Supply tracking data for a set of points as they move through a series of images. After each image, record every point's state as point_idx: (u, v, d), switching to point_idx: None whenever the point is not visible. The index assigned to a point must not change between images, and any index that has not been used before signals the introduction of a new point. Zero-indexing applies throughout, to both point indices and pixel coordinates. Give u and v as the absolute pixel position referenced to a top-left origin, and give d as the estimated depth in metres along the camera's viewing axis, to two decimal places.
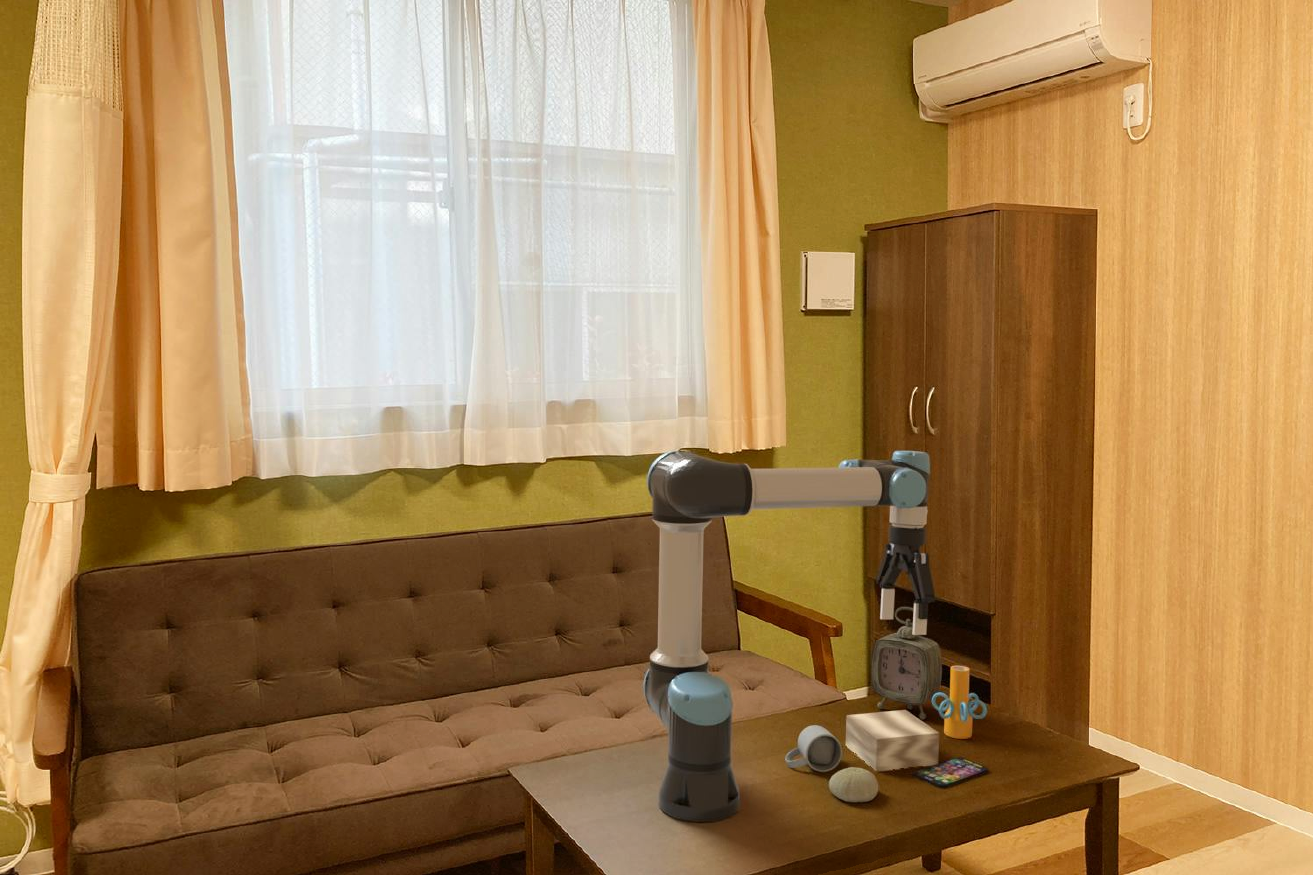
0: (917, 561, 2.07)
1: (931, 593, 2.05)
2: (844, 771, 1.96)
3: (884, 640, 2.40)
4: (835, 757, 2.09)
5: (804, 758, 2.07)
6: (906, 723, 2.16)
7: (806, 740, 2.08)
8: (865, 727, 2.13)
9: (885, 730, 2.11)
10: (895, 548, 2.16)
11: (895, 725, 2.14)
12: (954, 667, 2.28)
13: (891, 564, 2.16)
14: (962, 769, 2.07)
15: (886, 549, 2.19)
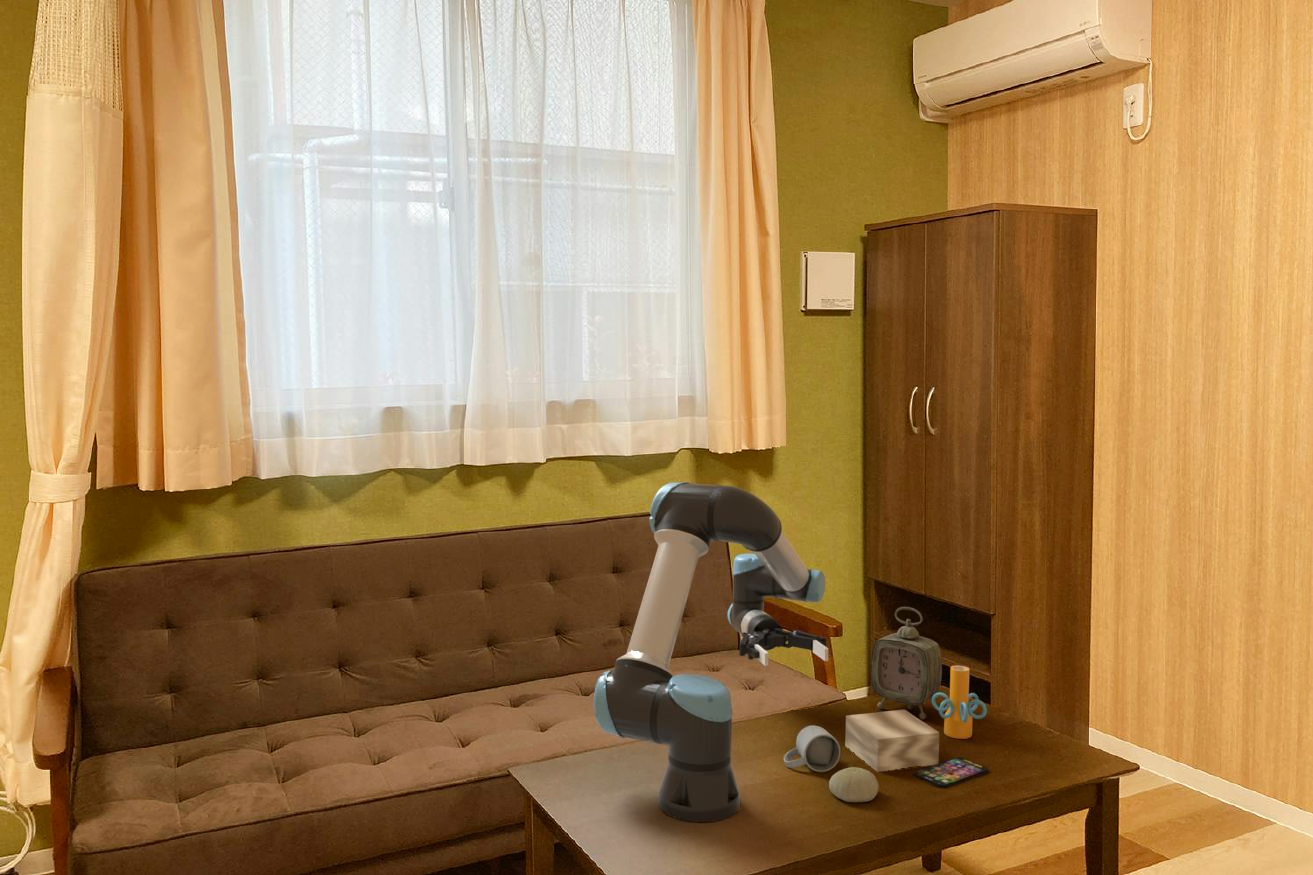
0: (799, 630, 2.34)
1: None
2: (844, 771, 1.96)
3: (884, 640, 2.40)
4: (833, 757, 2.09)
5: (802, 758, 2.07)
6: (905, 722, 2.16)
7: (805, 740, 2.08)
8: (865, 727, 2.13)
9: (886, 730, 2.11)
10: (759, 632, 2.33)
11: (895, 725, 2.14)
12: (954, 667, 2.28)
13: (763, 634, 2.29)
14: (962, 769, 2.07)
15: (745, 634, 2.31)
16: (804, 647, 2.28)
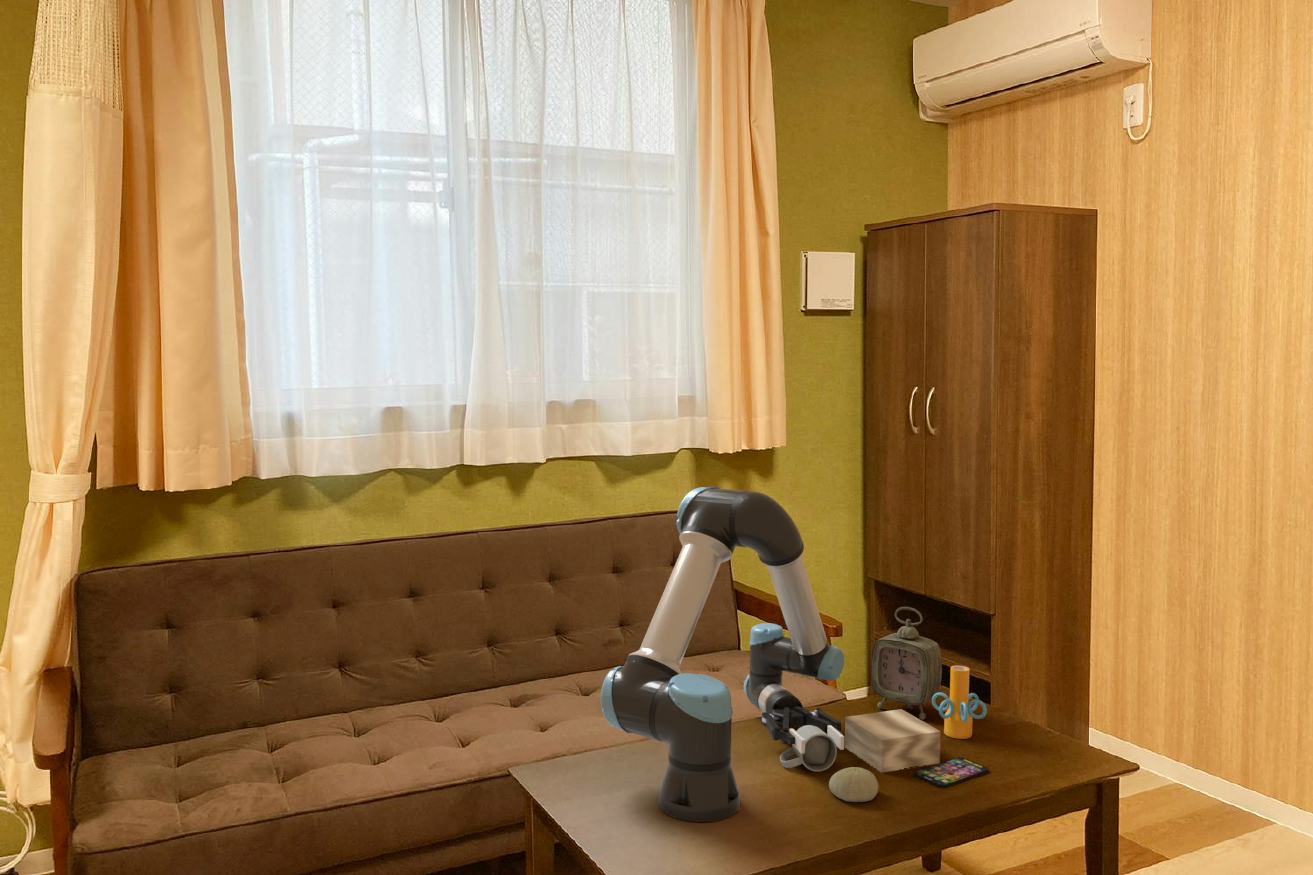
0: (820, 710, 2.21)
1: None
2: (844, 771, 1.96)
3: (884, 640, 2.40)
4: (830, 757, 2.09)
5: (799, 758, 2.07)
6: (905, 722, 2.16)
7: None
8: (867, 728, 2.12)
9: (888, 730, 2.11)
10: (777, 710, 2.21)
11: (895, 725, 2.14)
12: (954, 667, 2.28)
13: (787, 713, 2.18)
14: (962, 769, 2.07)
15: (766, 714, 2.19)
16: None
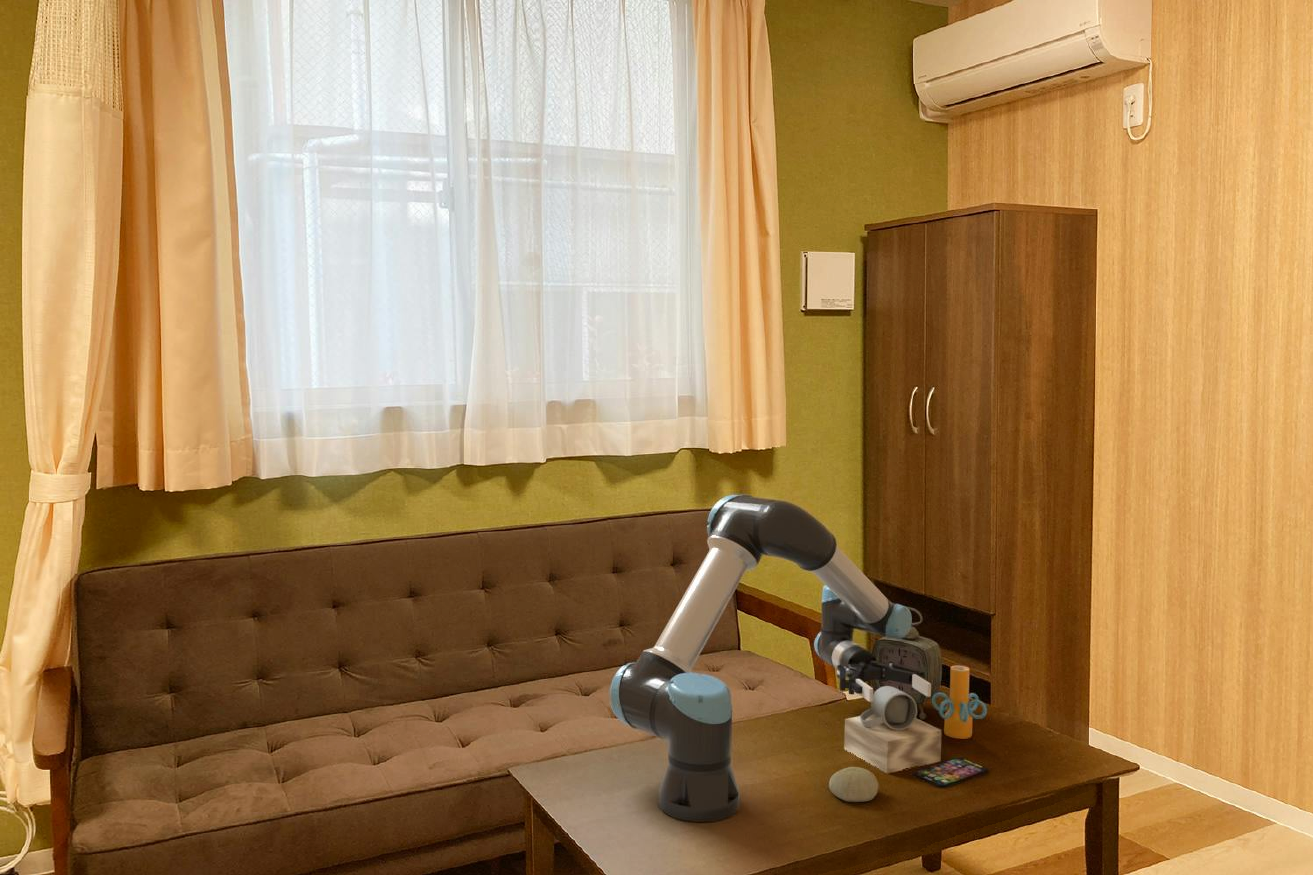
0: (895, 663, 2.27)
1: None
2: (844, 771, 1.96)
3: (884, 640, 2.40)
4: (909, 716, 2.14)
5: (881, 717, 2.12)
6: None
7: (882, 699, 2.13)
8: (869, 730, 2.12)
9: (890, 731, 2.11)
10: (854, 665, 2.26)
11: None
12: (954, 667, 2.28)
13: (860, 667, 2.23)
14: (962, 769, 2.07)
15: (841, 666, 2.24)
16: (902, 681, 2.21)
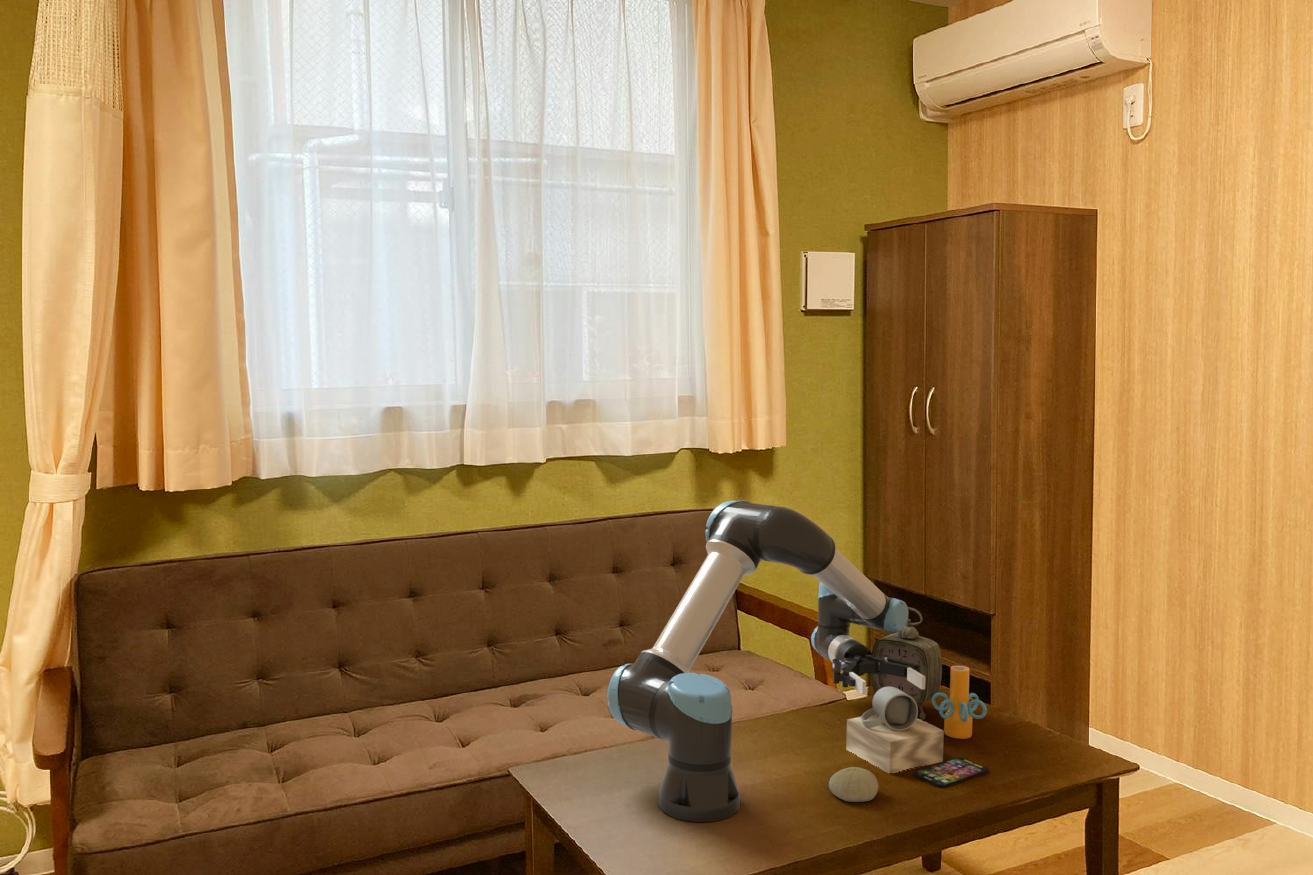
0: (890, 657, 2.31)
1: None
2: (844, 771, 1.96)
3: (884, 640, 2.40)
4: (910, 717, 2.14)
5: (881, 717, 2.11)
6: None
7: (883, 699, 2.13)
8: (872, 730, 2.12)
9: (893, 732, 2.11)
10: (849, 658, 2.29)
11: None
12: (954, 667, 2.28)
13: (855, 660, 2.26)
14: (962, 769, 2.07)
15: (836, 660, 2.28)
16: (897, 674, 2.25)
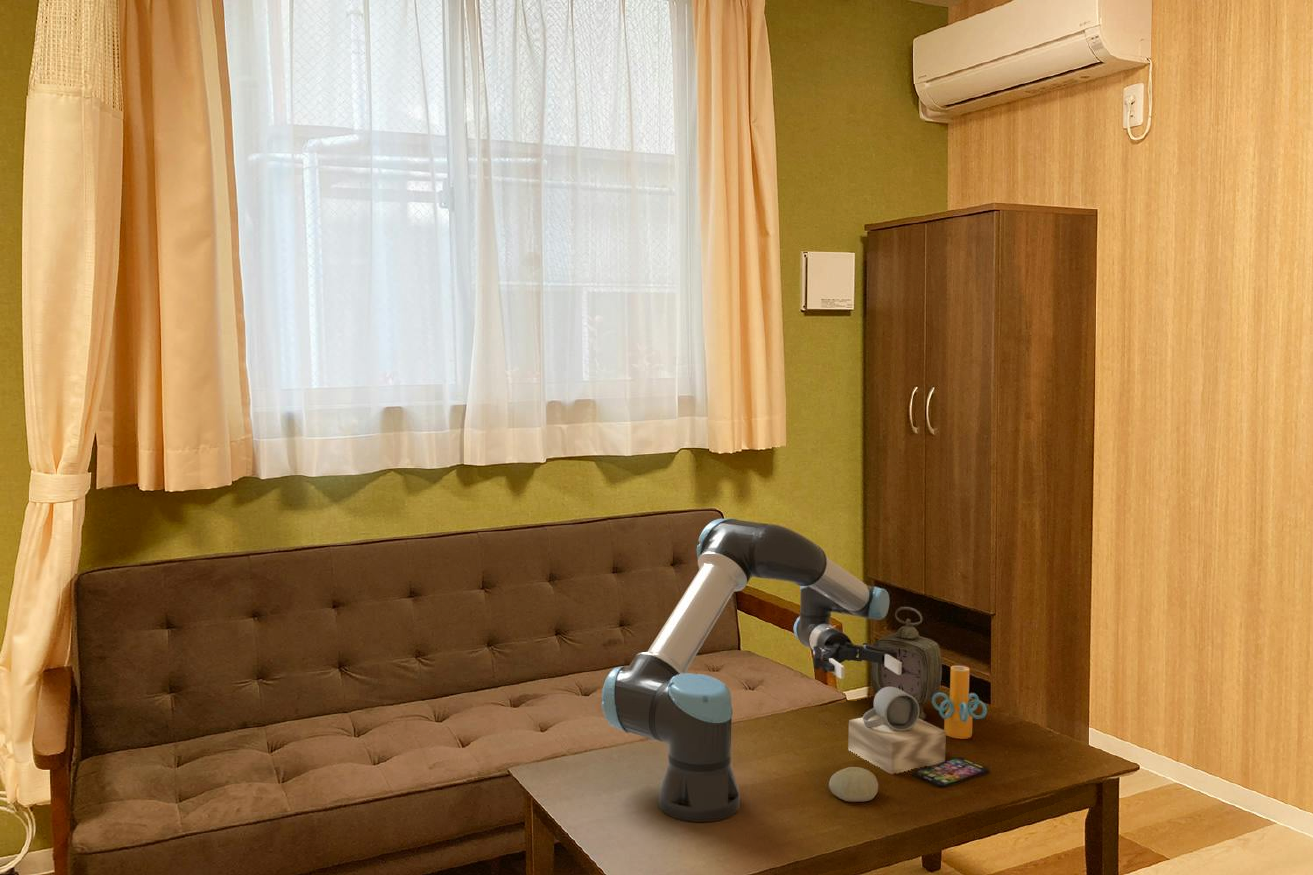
0: (868, 644, 2.40)
1: None
2: (844, 771, 1.96)
3: (884, 640, 2.40)
4: (912, 717, 2.14)
5: (883, 717, 2.11)
6: None
7: (884, 700, 2.13)
8: (873, 731, 2.11)
9: (895, 732, 2.10)
10: (830, 646, 2.39)
11: None
12: (954, 667, 2.28)
13: (835, 647, 2.35)
14: (962, 769, 2.07)
15: (817, 647, 2.37)
16: (875, 661, 2.34)
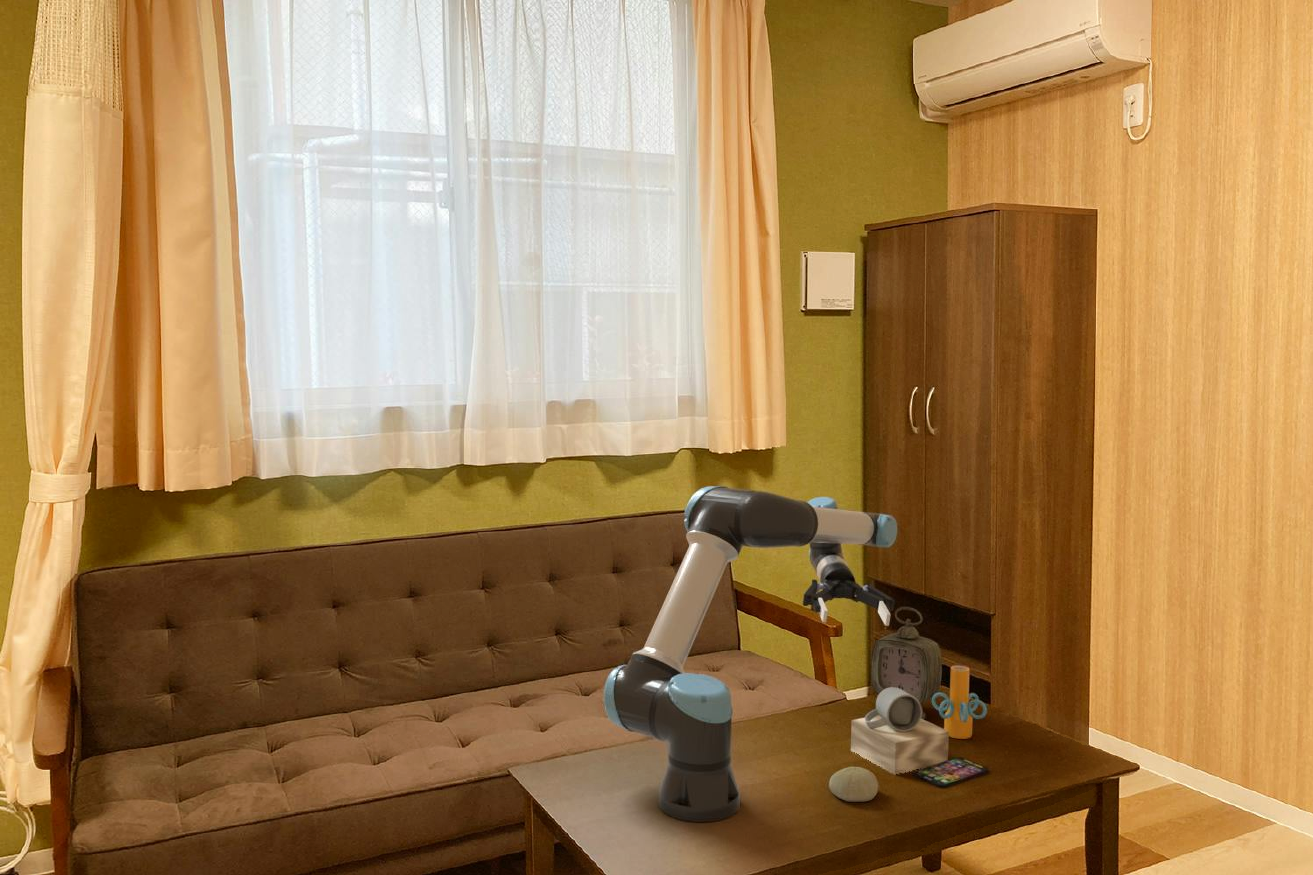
0: (871, 585, 2.34)
1: None
2: (844, 771, 1.96)
3: (884, 640, 2.40)
4: (914, 717, 2.13)
5: (885, 718, 2.11)
6: None
7: (886, 700, 2.12)
8: (876, 731, 2.11)
9: (898, 733, 2.10)
10: (829, 581, 2.34)
11: None
12: (954, 667, 2.28)
13: (832, 585, 2.31)
14: (962, 769, 2.07)
15: (815, 581, 2.33)
16: (871, 605, 2.28)
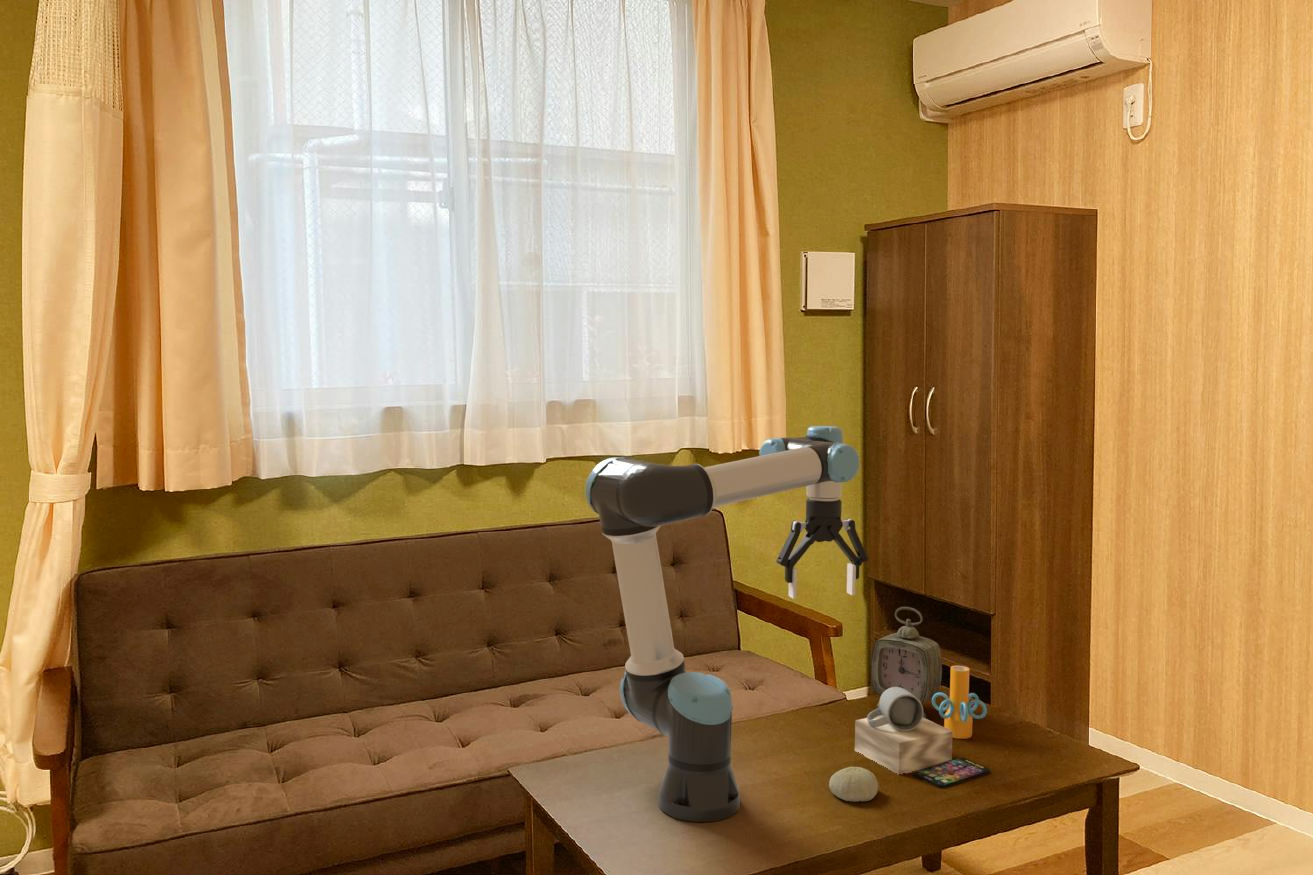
0: (853, 527, 2.21)
1: None
2: (844, 771, 1.96)
3: (884, 640, 2.40)
4: (916, 718, 2.13)
5: (886, 717, 2.11)
6: None
7: (888, 700, 2.12)
8: (880, 731, 2.11)
9: (902, 732, 2.10)
10: (813, 523, 2.19)
11: None
12: (954, 667, 2.28)
13: (813, 540, 2.18)
14: (963, 770, 2.07)
15: (798, 528, 2.18)
16: (844, 552, 2.23)
